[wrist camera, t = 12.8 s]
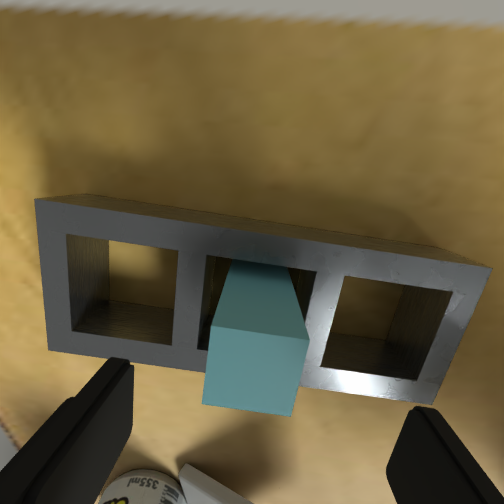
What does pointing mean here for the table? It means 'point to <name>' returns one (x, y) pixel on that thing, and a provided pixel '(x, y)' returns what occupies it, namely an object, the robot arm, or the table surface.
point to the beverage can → (143, 489)
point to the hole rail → (262, 251)
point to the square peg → (256, 341)
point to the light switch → (206, 489)
